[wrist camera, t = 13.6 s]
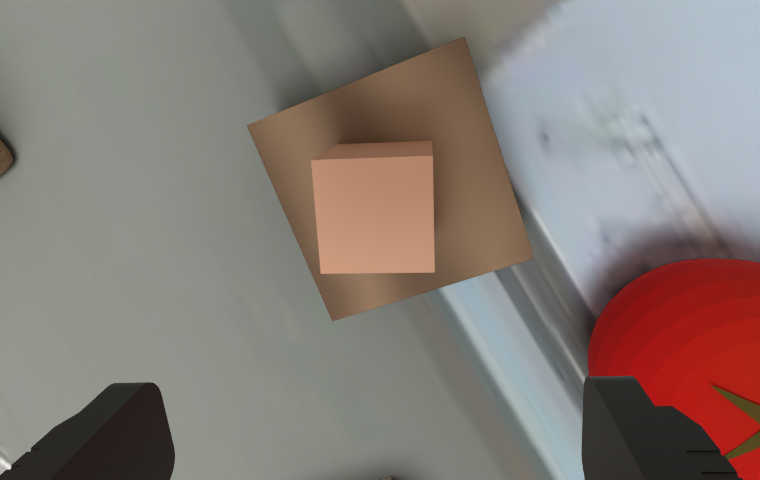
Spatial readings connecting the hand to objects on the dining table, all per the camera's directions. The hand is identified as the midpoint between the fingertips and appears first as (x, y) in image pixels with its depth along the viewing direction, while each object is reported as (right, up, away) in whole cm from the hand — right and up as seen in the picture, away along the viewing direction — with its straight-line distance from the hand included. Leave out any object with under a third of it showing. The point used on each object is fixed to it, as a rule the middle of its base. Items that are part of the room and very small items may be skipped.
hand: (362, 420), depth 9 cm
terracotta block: (+1, +6, +17) cm, 18 cm away
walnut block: (+2, +8, +23) cm, 24 cm away
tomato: (+20, -2, +24) cm, 32 cm away
